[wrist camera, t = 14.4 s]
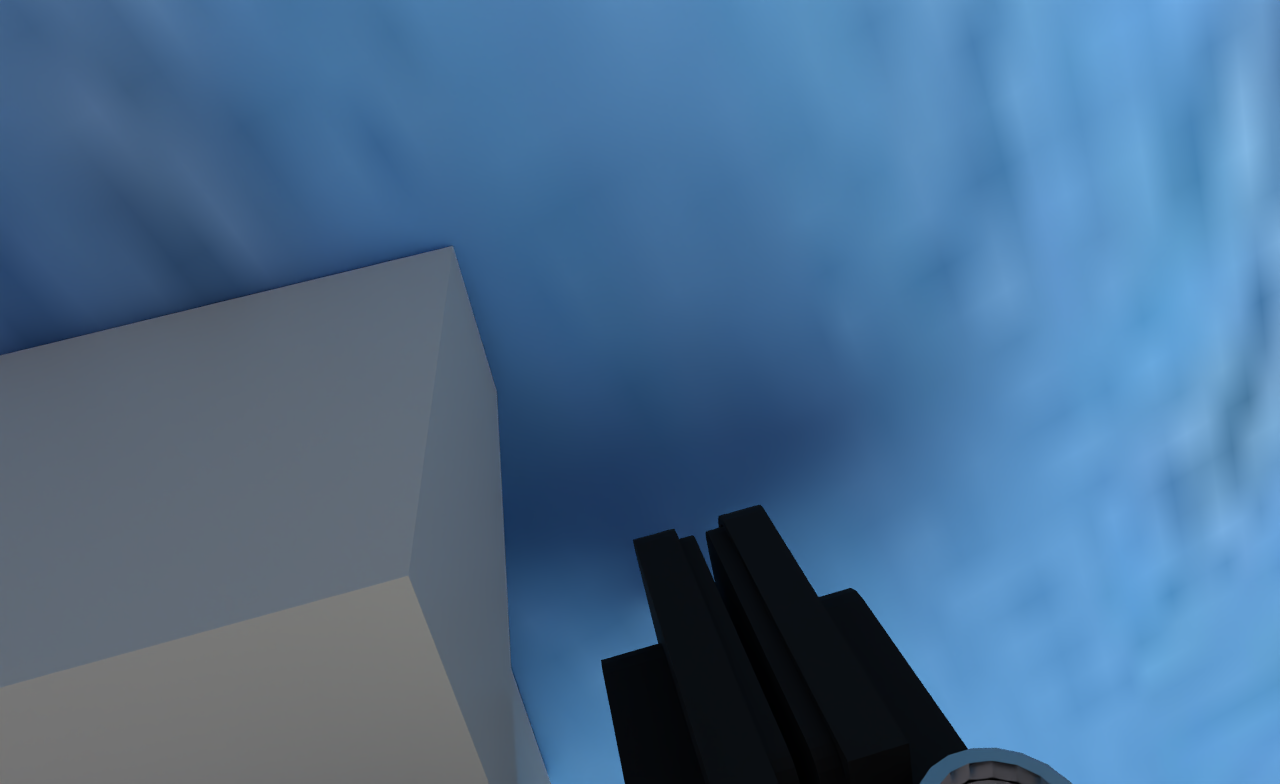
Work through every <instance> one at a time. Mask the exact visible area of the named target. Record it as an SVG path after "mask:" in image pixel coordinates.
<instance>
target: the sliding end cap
mask: <svg viewBox="0 0 1280 784" xmlns="http://www.w3.org/2000/svg"><path fill="white" fill-rule="evenodd" d="M0 784H551V783H550V780H549V777H548V774H547V771H546V768H545V765H544V762H543V759H542V756H541V754H540V751H539V748H538V745H537V742H536V739H535V736H534V733H533V730H532V728H531V725H530V722H529V719H528V716H527V713H526V710H525V707H524V704H523V702H522V699H521V696H520V693H519V690H518V687H517V684H516V681H515V678H514V675H513V673H512V670H511V655H510V636H509V616H508V597H507V577H506V558H505V539H504V519H503V500H502V480H501V461H500V442H499V422H498V403H497V390H496V387H495V384H494V381H493V377H492V374H491V371H490V367H489V364H488V361H487V357H486V354H485V351H484V347H483V344H482V341H481V337H480V334H479V331H478V327H477V324H476V321H475V317H474V314H473V311H472V307H471V304H470V301H469V297H468V294H467V291H466V288H465V284H464V281H463V278H462V274H461V271H460V268H459V264H458V261H457V258H456V254H455V251H454V248H453V246H450V247H446V248H442V249H438V250H434V251H429V252H425V253H421V254H417V255H413V256H409V257H405V258H401V259H396V260H392V261H388V262H384V263H380V264H376V265H372V266H367V267H363V268H359V269H355V270H351V271H347V272H343V273H339V274H334V275H330V276H326V277H322V278H318V279H314V280H310V281H306V282H301V283H297V284H293V285H289V286H285V287H281V288H277V289H272V290H268V291H264V292H260V293H256V294H252V295H248V296H244V297H239V298H235V299H231V300H227V301H223V302H219V303H215V304H211V305H206V306H202V307H198V308H194V309H190V310H186V311H182V312H178V313H173V314H169V315H165V316H161V317H157V318H153V319H149V320H144V321H140V322H136V323H132V324H128V325H124V326H120V327H116V328H111V329H107V330H103V331H99V332H95V333H91V334H87V335H83V336H78V337H74V338H70V339H66V340H62V341H58V342H54V343H49V344H45V345H41V346H37V347H33V348H29V349H25V350H21V351H16V352H12V353H8V354H4V355H0Z"/></svg>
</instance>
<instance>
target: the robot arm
mask: <svg viewBox="0 0 1280 784" xmlns="http://www.w3.org/2000/svg"><path fill="white" fill-rule="evenodd" d="M718 524H719V528H717V529H713V530H710V531H706V540H707V545H708V550H709V555H710V560H711V565H712V570H713V574H714V579H715V582H714V579H713V577H712V575H711V573H710V570H709V568H708V566H707V564H706V561H705V559H704V557H703V555H702V552H701V550H700V548H699V546H698V543H697V541H696V539H695V537H694V536H693V535H692V536H688V537H685V538H681V539H679V538H678V536H677V533H676V531H675V529H670V530H667V531H663V532H660V533H656V534H652V535H649V536H645V537H642V538H638V539H634V540H633V543H634V547H635V552H636V556H637V560H638V564H639V568H640V572H641V576H642V580H643V584H644V588H645V592H646V596H647V600H648V604H649V608H650V612H651V616H652V620H653V624H654V628H655V632H656V636H657V640H658V644H656V645H652V646H649V647H645V648H642V649H638V650H635V651H631V652H628V653H625V654H621V655H618V656H614V657H611V658H607V659H604V660H601V663H602V670H603V675H604V680H605V685H606V690H607V695H608V700H609V705H610V710H611V715H612V720H613V725H614V731H615V736H616V741H617V746H618V751H619V756H620V761H621V766H622V771H623V776H624V781H625V784H1072V783H1071V782H1070V781H1069V780H1067V779H1066V778H1065V777H1063V776H1062V775H1061V774H1059V773H1058V772H1057V771H1055V770H1054V769H1053V768H1051V767H1050V766H1049V765H1047V764H1045V763H1043V762H1041V761H1039V760H1036V759H1034V758H1032V757H1030V756H1027V755H1025V754H1023V753H1019V752H1014V751H1009V750H1004V749H1000V748H971V749H967V747H966V746H965V744H964V743H963V741H962V740H961V738H960V737H959V736H958V734H957V733H956V731H955V730H954V728H953V727H952V726H951V724H950V723H949V721H948V720H947V718H946V717H945V716H944V714H943V713H942V711H941V710H940V708H939V707H938V706H937V704H936V703H935V701H934V700H933V698H932V697H931V696H930V694H929V693H928V691H927V690H926V688H925V687H924V686H923V684H922V683H921V681H920V680H919V678H918V677H917V676H916V674H915V673H914V671H913V670H912V668H911V667H910V666H909V664H908V663H907V661H906V660H905V658H904V657H903V656H902V654H901V653H900V651H899V650H898V648H897V647H896V646H895V644H894V643H893V641H892V640H891V638H890V637H889V635H888V634H887V633H886V631H885V630H884V628H883V627H882V625H881V624H880V623H879V621H878V620H877V618H876V617H875V615H874V614H873V613H872V611H871V610H870V608H869V607H868V605H867V604H866V603H865V601H864V600H863V598H862V597H861V596H860V595H859V594H858V592H857V591H856V590H854V589H852V588H849V589H845V590H842V591H839V592H835V593H832V594H828V595H825V596H821V597H818V596H817V594H816V592H815V591H814V589H813V588H812V586H811V584H810V583H809V581H808V580H807V578H806V576H805V575H804V573H803V571H802V570H801V568H800V567H799V565H798V563H797V562H796V560H795V559H794V557H793V555H792V554H791V552H790V550H789V549H788V547H787V546H786V544H785V542H784V541H783V539H782V538H781V536H780V534H779V533H778V531H777V530H776V528H775V526H774V525H773V523H772V521H771V520H770V518H769V517H768V515H767V513H766V512H765V510H764V509H763V507H762V506H761V505H757V506H753V507H749V508H746V509H742V510H739V511H735V512H731V513H728V514H724V515H721V516H719V517H718Z"/></svg>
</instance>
